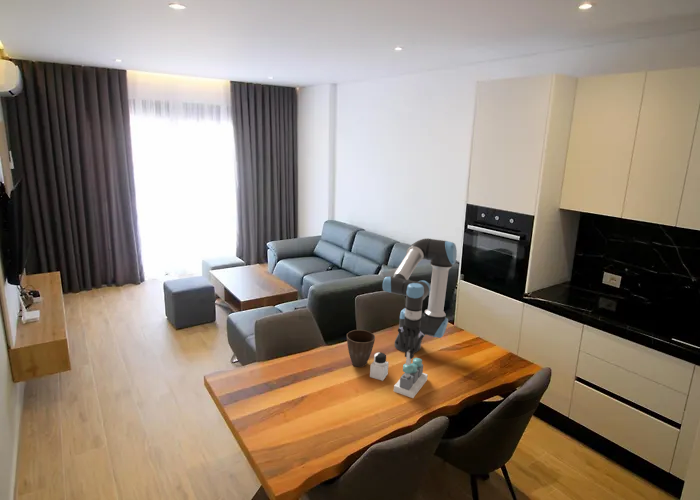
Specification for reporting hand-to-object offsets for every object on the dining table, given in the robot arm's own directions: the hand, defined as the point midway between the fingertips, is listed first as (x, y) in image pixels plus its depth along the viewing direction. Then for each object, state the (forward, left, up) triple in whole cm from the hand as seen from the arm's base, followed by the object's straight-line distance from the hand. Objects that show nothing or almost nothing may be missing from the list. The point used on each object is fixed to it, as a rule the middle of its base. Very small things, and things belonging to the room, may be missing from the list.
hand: (408, 363), depth 202 cm
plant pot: (-31, +11, -15) cm, 36 cm away
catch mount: (0, +7, -15) cm, 16 cm away
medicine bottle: (-17, +6, -15) cm, 23 cm away
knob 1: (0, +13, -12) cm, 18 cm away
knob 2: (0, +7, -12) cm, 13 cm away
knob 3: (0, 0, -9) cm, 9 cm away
